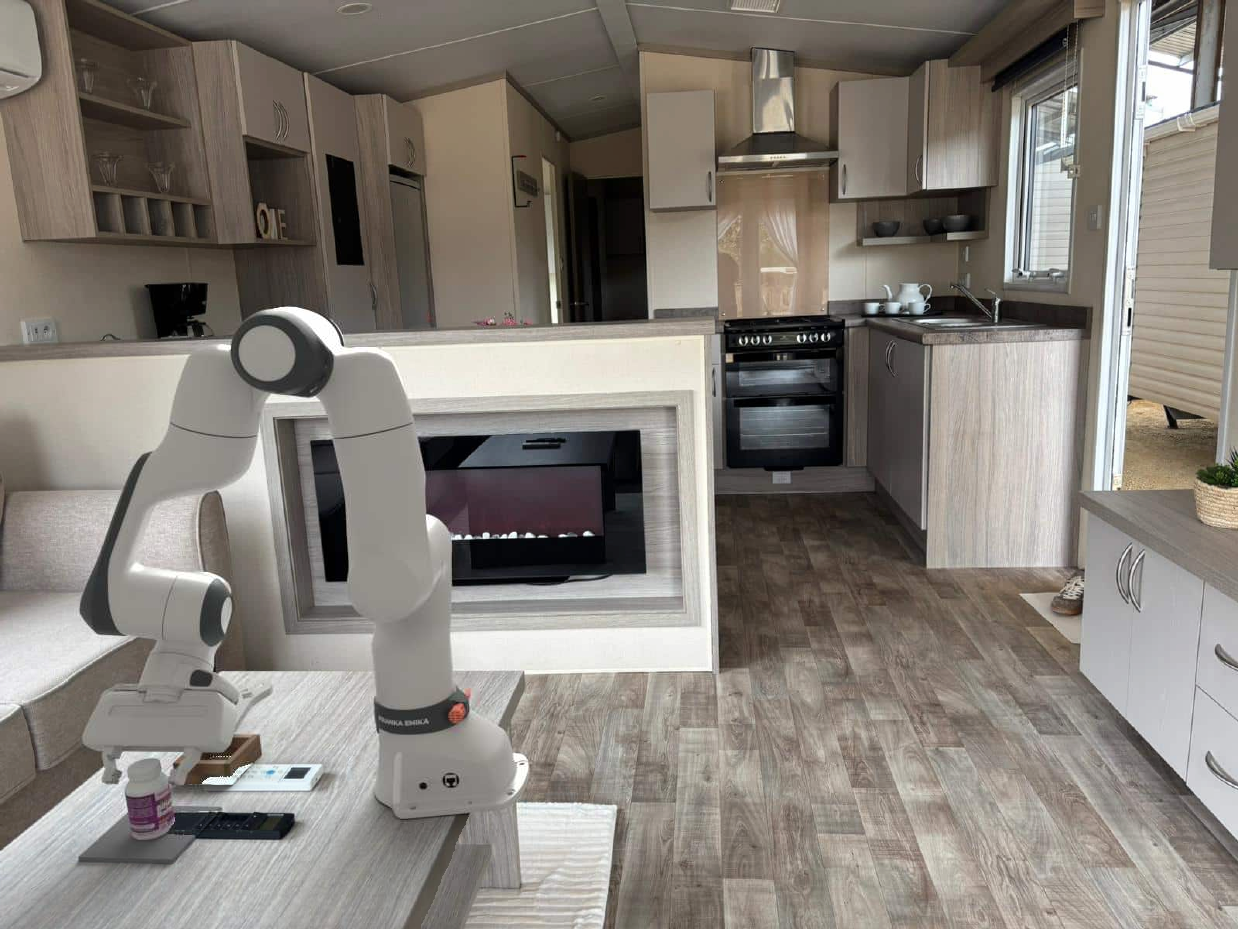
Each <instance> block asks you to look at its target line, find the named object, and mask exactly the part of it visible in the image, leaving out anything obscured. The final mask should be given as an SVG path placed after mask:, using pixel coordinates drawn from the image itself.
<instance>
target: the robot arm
mask: <svg viewBox="0 0 1238 929" xmlns="http://www.w3.org/2000/svg"><path fill="white" fill-rule="evenodd" d="M345 344H346V343H345V338H344V336H343V334H342V331H341V330H340V328H339V327H338V325H337V324H336V323H335V322H334V321H333V320H332V319H330V318H329V317H328V316H326V314H324V313H321V312H319V311H316V310H313V309H306V308H305V309H304V308H300V307H296V306H293V307H292V306H284V307H278V308H277V307H276V308H269V309H264V310H263V309H262V310H260V311H257V312H255V313H253V314H251V315H250V316H248V317H247V318H246V319H244V320H243V321H241V323H240V324H239V326H238V327H237V328H236V330H235V332H234V334H233V335H232V338H231V342H230V345H229V344H222V343H221V344H219V343H218V344H209V345H208V344H207V345H204V346H200V347H199V348H198V347H197V349H195V350H193V351H192V352H191V353H190V354H189V355H188V357H187V359H186V360H185V363H184V366H183V368H182V371H181V374H180V377H179V380H178V383H177V386H176V390H175V393H174V395H173V396H174V397H173V402H172V404H171V410H170V415H169V422H168V428H167V430H166V433H165V435H164V437H163V439H162V441H161V442H160V443H159V445H158V446H157V447H156V448H155V449H154V450H151V451H148V452H144V453H142V454H141V455H140V457H139V458H138V459H137V460H136V462H135V463H134V465H133V467H132V468H131V470H130V472H129V474H128V476H127V478H126V481H125V483H124V485H123V489H122V491H121V493H120V496H119V498H118V501H117V504H116V506H115V509H114V512H113V515H112V518H111V521H110V523H109V526H108V530H107V532H106V534H105V538H104V540H103V543H102V546H101V549H100V551H99V555H98V557H97V560H96V562H95V564H94V566H93V568H92V571H91V573H90V576H89V577H88V579H87V581H86V583H85V585H84V588H83V590H82V592H81V595H80V600H79V608H78V610H79V611H78V612H79V614H80V616H81V618H82V620H84V623H85V624H86V625H87V626H88V627H89V628H90V629H91V630H92V631H93V633H95V634H96V635H97V636H98V635H99V636H114V637H115V636H117V637H128V636H129V637H134V638H135V637H136V638H144V639H151V640H156V643H155V645H154V647H153V648H152V650H151V651H150V652H149V654H148V657H147V660H146V663H145V664H144V665H145V666H144V668H143V671H142V674H141V676H140V679H139V683H130V684H129V683H128V684H126V683H116V684H114V685H113V686H111V687H109V688H107V689H106V690H104V691H103V692H102V693H101V695H100V697H99V700H98V703H97V705H96V706H95V708H94V710H93V711H92V714H91V715H90V717H89V720H88V722H87V723H86V726H85V728H84V731H83V733H82V735H81V739H82V743H83V745H84V746H85V747H87V748H89V749H91V750H94V751H96V752H102V753H101V759H102V762H103V767H104V771H103V774H102V777H101V783H103V784H105V785H118V784H119V782H120V781H121V780H120V779H121V777H122V775H123V771H121V769H118V768H117V760H120V759H121V756H122V755H123V754H122V753H123V752H127V753H128V752H133V753H135V752H136V753H138V752H140V753H141V752H143V753H151V752H153V753H182V754H183V756H185V759H184V760H183V761H182V762H181V764H180V765H179V766H178V768H177V769H173V768H171V769H170V772H169V776H168V783H169V784H170V785H172V786H185V785H184V783H185V780H186V777H187V774H188V772H190V770H191V769H192V768H193V767H194V766H195V765H196V764H197V763H198V762H199V760H200V757H201V754H202V752H224V751H225V750H226V749H227V748H228V747H229V746H230V744H231V742H232V739H233V735H234V734H235V733H234V730H235V726H236V720H237V708H236V703H237V700H238V698H239V696H240V690H239V689H238V688H239V687H237V686H236V685H235V684H234V683H233V682H232V681H230V680H229V679H227V678H226V677H224V676H222V675H221V674H219V673H217V672H214V668H215V654H216V652H217V650H218V648H219V647H220V645H221V644H222V643H223V642H222V641H223V640H224V639H225V638H226V637H227V636H228V632H229V629H230V625H231V623H232V619H233V616H234V612H235V600H234V597H233V595H232V588H231V585H230V584H229V582H227V580H225V579H224V578H223V577H221V576H220V575H217V574H215V573H212V572H208V571H199V570H197V571H192V572H190V571H189V572H188V571H181V570H180V571H178V570H175V569H174V570H172V569H165V568H159V567H152V566H147V565H143V564H142V563H140V562H139V561H138V559H137V554H138V552H139V549H140V547H141V545H142V542H143V539H144V536H145V533H146V530H147V528H148V525H149V522H150V519H151V516H152V514H153V511H154V510H155V508H156V507H157V506H158V505H159V504H162V503H164V502H167V501H170V500H174V499H180V498H183V497H189V496H196V495H197V496H198V495H203V494H204V495H205V494H207V493H211V492H215V491H218V490H221V489H224V488H226V487H228V486H230V485H233V484H234V483H236V482H237V481H239V480H240V479H241V478H242V477H243V476H244V475H245V474H246V473H247V472H248V471H249V470H250V468H251V464H252V461H253V458H254V456H255V451H256V447H257V443H258V437H259V433H260V424H261V417H262V414H263V409H264V406H265V403H266V401H267V400H268V398H269V397H270V396H271V395H272V394H273V395H279V396H291V397H297V398H306V399H311V398H314V397H316V398H317V400H319V401H320V403H321V404H322V406H323V408H324V410H325V414H326V417H327V422H328V425H329V430H330V435H331V438H332V443H333V448H334V452H335V457H336V460H337V465H338V466H337V467H338V469H339V473H340V478H341V482H342V483H341V484H342V488H343V493H344V494H343V495H344V501H345V515H346V516H345V517H346V518H345V520H346V522H345V523H346V538H347V541H346V542H347V554H348V555H347V556H348V573H347V579H346V593H347V597H348V600H349V602H350V604H351V605H352V607H353V609H354V610H355V611H356V612H357V613H358V614H359V615H361V616H362V617H363V618H365V619H367V620H369V621H371V622H374V628H373V633H372V634H373V635H372V638H371V645H370V646H371V647H370V648H371V658H372V667H373V668H372V669H373V678H374V679H373V680H374V687H375V696H374V698H373V707H374V708H373V714H374V715H373V717H374V722H375V729H376V733H377V734H378V760H377V761H378V763H377V770H376V771H377V772H376V778H375V783H374V787H373V792H374V796H375V797H376V799H377V800H378V801H379V802H381V803H382V804H384V805H386V806H387V807H389V808H390V809H392V812H393V814H394V815H395V817H397V819H402V820H404V819H406V820H407V819H417V818H426V817H427V818H428V817H438V816H448V815H449V816H450V815H462V814H471V813H481V812H493V811H494V812H495V811H502V810H505V809H507V808H509V807H510V806H512V805H513V804H515V802H516V801H518V799H519V798H520V797H521V796H522V794H523V793H524V791H525V789H526V787H527V785H528V782H529V780H530V775H531V768H530V764H529V760H528V758H527V757H526V756H525V755H524V754H522V753H516V752H513V747H512V743H511V741H510V738H509V735H508V734H507V732H506V731H505V730H504V728H502V727H500V726H498V725H497V724H495V723H494V722H491V721H490V720H488V719H487V718H485V717H483V716H482V715H480V714H478V713H477V712H475V711H473V710H472V709H470V698H471V695H472V693H471V688H470V687H468V688H467V690H466V691H465V692H463V690H461V689H460V688H459V686H457V684H456V683H455V677H454V667H453V666H454V664H453V653H452V640H451V639H452V638H451V637H452V636H451V623H452V621H451V619H452V599H453V598H452V595H453V593H452V592H453V589H452V588H453V582H452V581H453V580H452V578H453V576H452V572H453V570H452V567H453V566H452V552H453V543H452V542H453V541H452V537H451V533H450V531H449V529H448V527H447V526H446V525H445V524H444V523H443V521H441V520H440V519H439V518H437V517H436V516H434V515H431V514H427V508H426V506H427V504H426V482H427V481H426V480H427V476H426V471H425V466H424V462H423V457H422V452H421V448H420V447H421V446H420V443H419V438H418V433H417V429H416V424H415V419H414V415H413V410H412V408H411V404H410V401H409V397H408V393H407V391H406V388H405V385H404V383H403V380H402V378H401V375H400V371H399V370H398V367H397V365H396V362H395V360H393V358H392V356H390V355H389V354H388V353H387V352H385V351H383V350H381V349H379V348H375V347H368V346H361V347H359V346H358V347H352V348H350V347H346V345H345Z"/></svg>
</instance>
